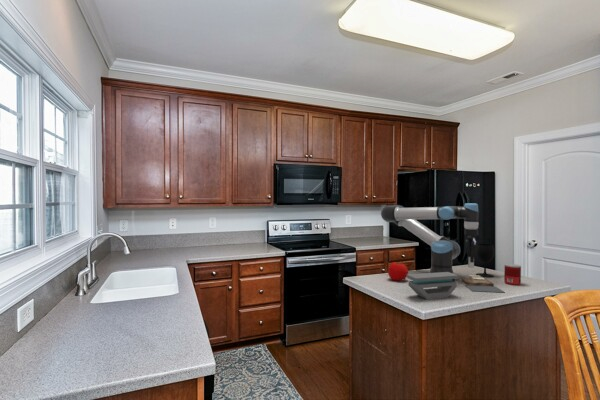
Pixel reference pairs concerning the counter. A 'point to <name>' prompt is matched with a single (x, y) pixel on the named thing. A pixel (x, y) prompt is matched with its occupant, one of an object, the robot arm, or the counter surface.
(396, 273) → the tomato
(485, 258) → the wine glass
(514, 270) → the canned food
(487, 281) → the walnut deck
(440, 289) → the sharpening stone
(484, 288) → the rubber mat
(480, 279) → the birch tile
